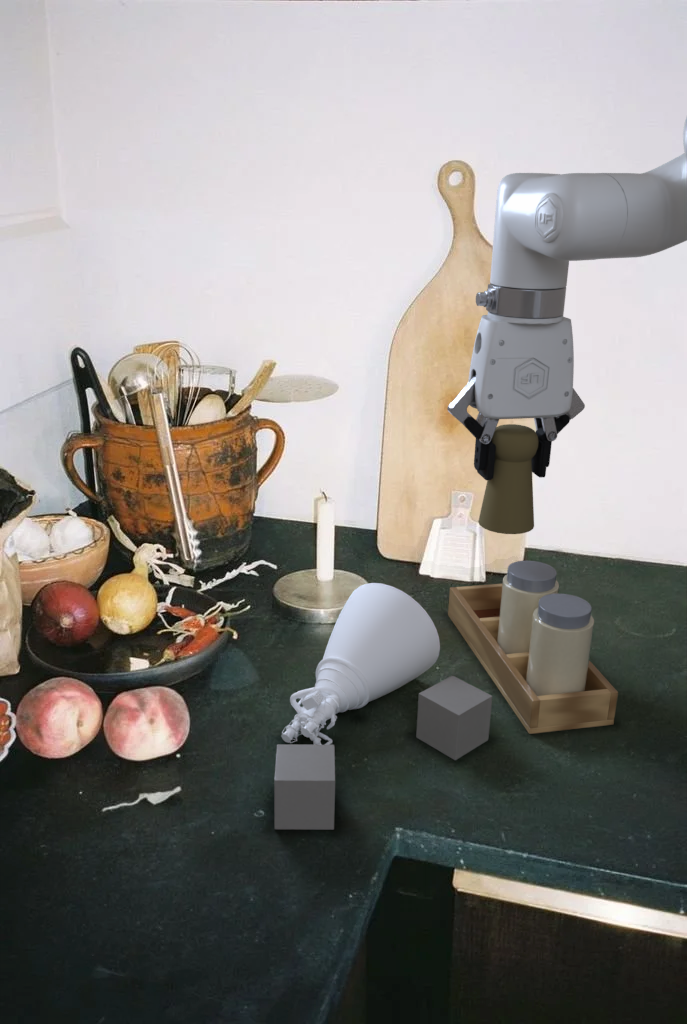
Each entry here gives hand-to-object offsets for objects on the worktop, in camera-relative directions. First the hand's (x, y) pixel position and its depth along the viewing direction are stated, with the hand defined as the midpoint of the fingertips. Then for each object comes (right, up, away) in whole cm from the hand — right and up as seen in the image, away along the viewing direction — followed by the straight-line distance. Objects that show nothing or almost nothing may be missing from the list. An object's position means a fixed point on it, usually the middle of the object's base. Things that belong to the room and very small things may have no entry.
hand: (510, 473), depth 100 cm
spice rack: (+2, -21, +5) cm, 22 cm away
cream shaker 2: (+4, -24, -3) cm, 24 cm away
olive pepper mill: (0, -6, +2) cm, 6 cm away
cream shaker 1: (+2, -21, +4) cm, 21 cm away
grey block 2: (-7, -26, -9) cm, 29 cm away
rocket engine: (-18, -24, -3) cm, 30 cm away
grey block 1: (-21, -30, -19) cm, 42 cm away
